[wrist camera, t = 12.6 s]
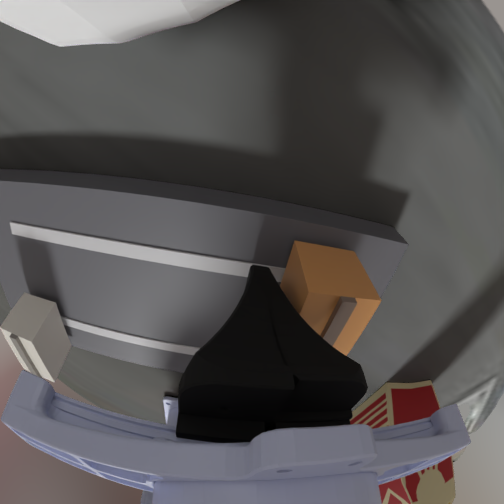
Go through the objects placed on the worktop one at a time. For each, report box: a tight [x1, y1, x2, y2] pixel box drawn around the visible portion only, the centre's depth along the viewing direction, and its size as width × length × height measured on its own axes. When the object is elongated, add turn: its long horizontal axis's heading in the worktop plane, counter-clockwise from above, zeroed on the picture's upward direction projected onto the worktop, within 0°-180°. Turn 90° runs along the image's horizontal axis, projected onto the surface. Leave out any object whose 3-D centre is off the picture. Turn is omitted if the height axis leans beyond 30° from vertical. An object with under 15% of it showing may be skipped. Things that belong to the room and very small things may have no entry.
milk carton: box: [350, 380, 455, 504], centre depth 19 cm, size 9×9×20 cm
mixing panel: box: [0, 169, 409, 373], centre depth 16 cm, size 13×26×2 cm, turn 79°
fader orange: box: [280, 241, 381, 356], centre depth 12 cm, size 4×3×4 cm, turn 169°
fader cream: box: [0, 292, 72, 382], centre depth 14 cm, size 4×3×4 cm, turn 168°
